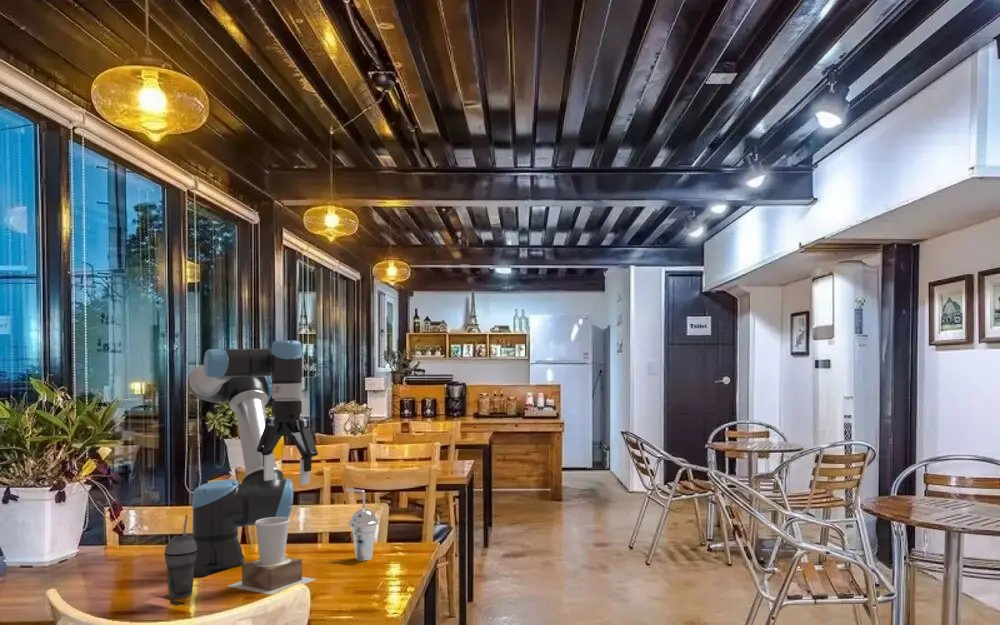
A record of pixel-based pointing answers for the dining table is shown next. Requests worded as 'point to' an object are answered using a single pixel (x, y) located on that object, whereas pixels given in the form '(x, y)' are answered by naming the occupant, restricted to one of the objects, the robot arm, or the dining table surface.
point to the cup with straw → (363, 530)
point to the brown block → (271, 574)
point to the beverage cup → (180, 565)
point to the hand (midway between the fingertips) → (286, 482)
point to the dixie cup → (272, 539)
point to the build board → (239, 585)
